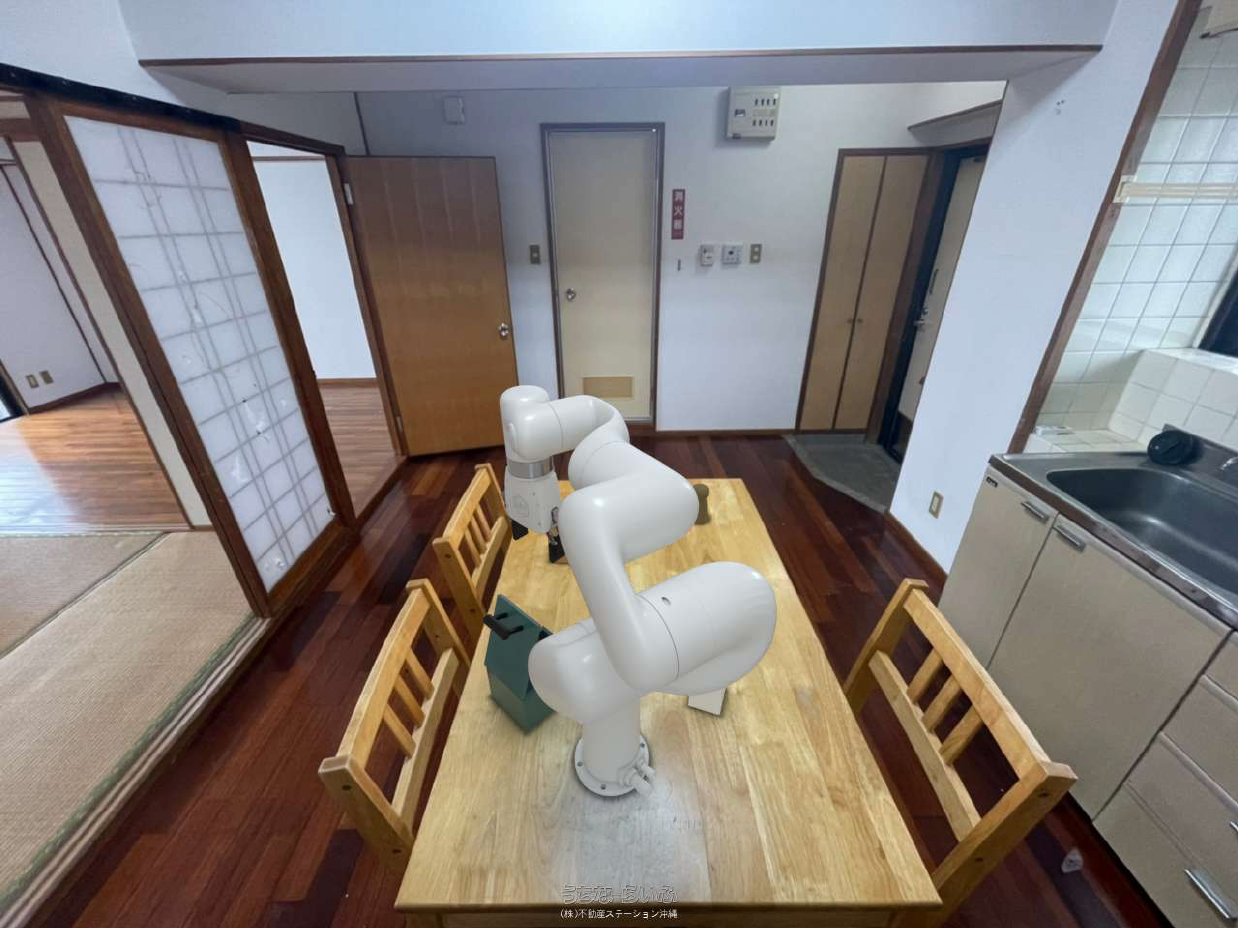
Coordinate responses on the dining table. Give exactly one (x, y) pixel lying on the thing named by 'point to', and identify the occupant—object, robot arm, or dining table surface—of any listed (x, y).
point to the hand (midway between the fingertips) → (538, 547)
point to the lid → (510, 645)
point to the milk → (708, 701)
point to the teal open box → (521, 710)
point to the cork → (702, 502)
